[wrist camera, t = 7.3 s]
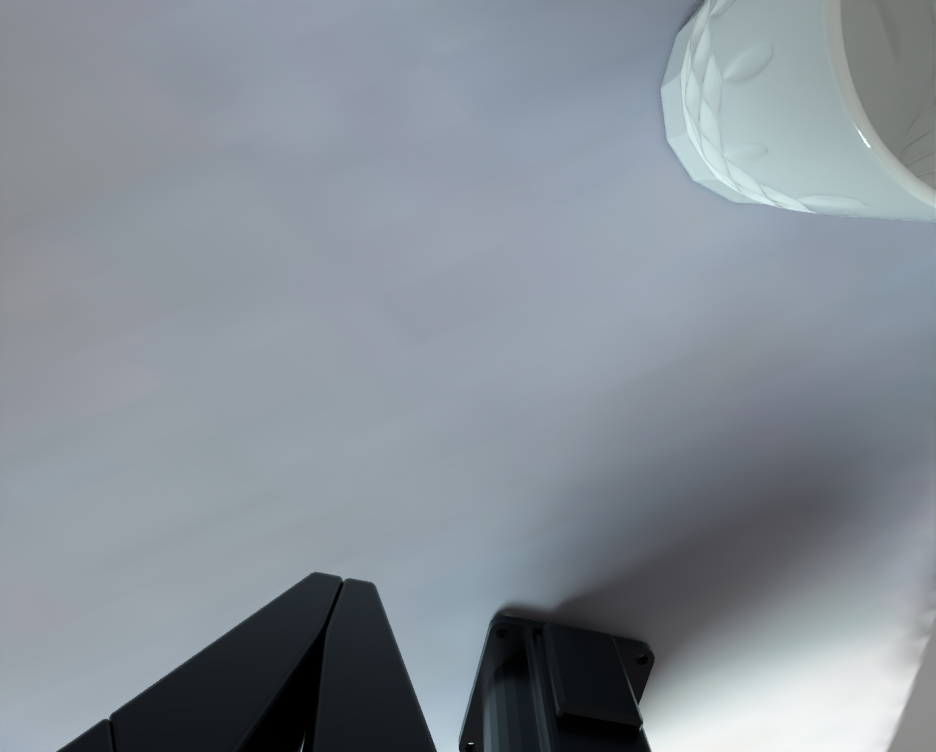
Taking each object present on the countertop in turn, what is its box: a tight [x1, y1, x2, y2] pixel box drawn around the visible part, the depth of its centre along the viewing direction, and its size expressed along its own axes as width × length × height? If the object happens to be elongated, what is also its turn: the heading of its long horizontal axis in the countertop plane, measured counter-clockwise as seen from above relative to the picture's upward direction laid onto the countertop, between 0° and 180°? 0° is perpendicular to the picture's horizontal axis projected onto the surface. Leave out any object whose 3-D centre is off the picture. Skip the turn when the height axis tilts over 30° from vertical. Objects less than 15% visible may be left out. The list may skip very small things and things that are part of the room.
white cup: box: [661, 0, 936, 223], centre depth 14 cm, size 8×8×10 cm
